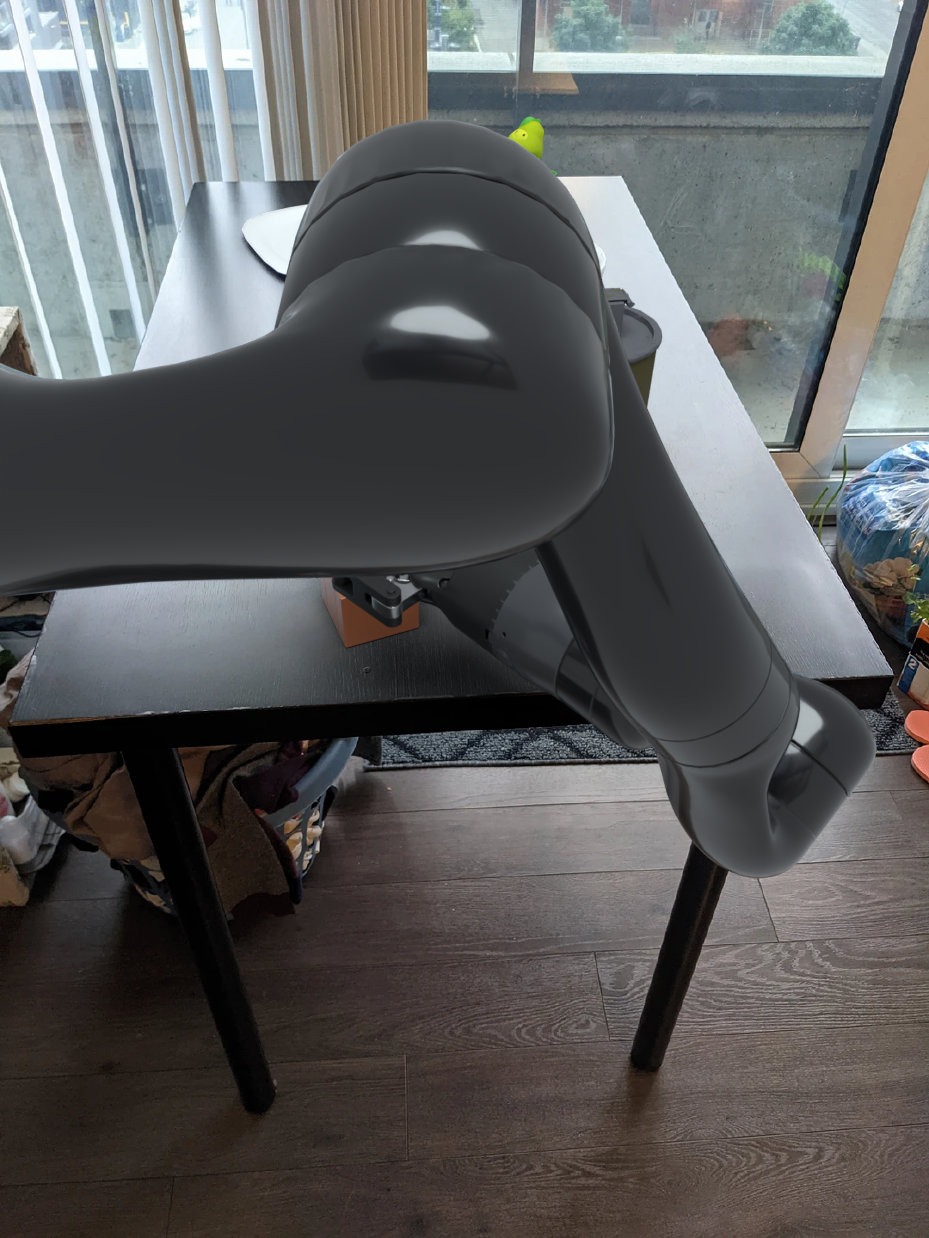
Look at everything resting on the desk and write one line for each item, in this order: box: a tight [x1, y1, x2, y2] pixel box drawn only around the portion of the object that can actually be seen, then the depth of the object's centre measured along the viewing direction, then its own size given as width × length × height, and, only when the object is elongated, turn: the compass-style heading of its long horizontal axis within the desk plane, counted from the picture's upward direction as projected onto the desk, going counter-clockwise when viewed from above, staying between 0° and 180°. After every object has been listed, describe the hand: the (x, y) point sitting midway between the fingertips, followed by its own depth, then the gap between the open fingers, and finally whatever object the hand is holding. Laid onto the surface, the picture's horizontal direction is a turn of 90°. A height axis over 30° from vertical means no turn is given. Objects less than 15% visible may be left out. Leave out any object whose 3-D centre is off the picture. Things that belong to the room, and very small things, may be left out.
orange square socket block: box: [319, 578, 420, 649], centre depth 73 cm, size 6×6×5 cm
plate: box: [241, 203, 308, 277], centre depth 128 cm, size 25×25×2 cm
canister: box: [604, 287, 663, 407], centre depth 78 cm, size 11×10×20 cm
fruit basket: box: [507, 116, 558, 176], centre depth 137 cm, size 11×9×11 cm
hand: (370, 495), depth 66 cm, fingers open, 8 cm apart
